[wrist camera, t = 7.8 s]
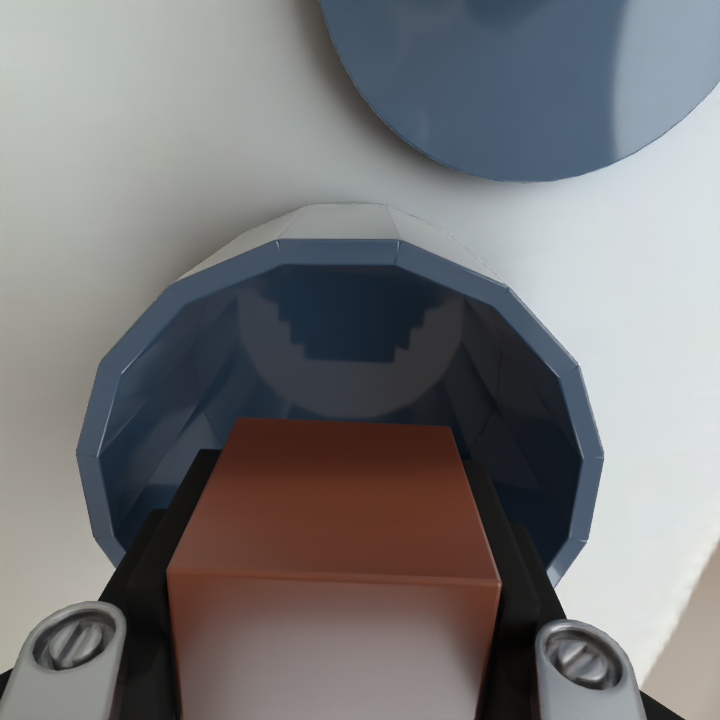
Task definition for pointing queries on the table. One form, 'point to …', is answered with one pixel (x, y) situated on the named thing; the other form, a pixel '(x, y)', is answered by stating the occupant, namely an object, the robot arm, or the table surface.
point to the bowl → (343, 369)
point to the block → (333, 577)
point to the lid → (528, 77)
